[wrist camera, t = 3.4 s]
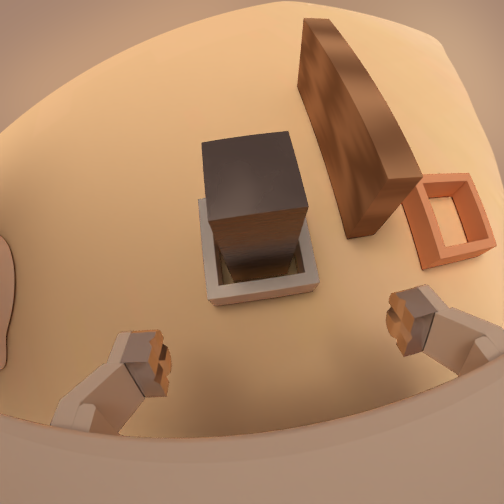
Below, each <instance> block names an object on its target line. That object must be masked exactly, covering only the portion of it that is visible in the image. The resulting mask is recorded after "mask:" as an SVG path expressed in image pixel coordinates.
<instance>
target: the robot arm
mask: <svg viewBox="0 0 504 504" xmlns="http://www.w3.org/2000/svg"><path fill="white" fill-rule="evenodd" d="M13 298H14V266H13V259H12V255H11V252H10V249H9V246H8V244H7V243H6V241H5V240H4V239H3V238H2V237H1V236H0V370H1V369H3V368H4V366H5V364H6V333H7V328H8V324H9V320H10V316H11V311H12V306H13ZM389 304H390V305H391V308H390V309H389V310H388V311H387V315H386V325H387V329H388V332H389V333H390V335H391V337H393V338H395V339H397V343H396V345H397V347H398V348H399V350H400V352H401V353H402V355H403V357H405V356H408V355H412V354H415V353H419V352H422V351H423V353H425V354H426V355H428V356H430V357H431V358H433V359H434V360H436V361H437V362H439V363H440V364H442V365H444V366H445V367H447V368H448V369H450V370H451V371H453V372H454V373H456V374H457V375H458V377H457V378H455V379H453V380H451V381H448V382H446V383H444V384H441V385H439V386H437V387H434V388H432V389H429V390H427V391H424V392H422V393H419V394H416V395H414V396H411V397H408V398H405V399H402V400H400V401H397V402H394V403H391V404H388V405H384V406H381V407H378V408H375V409H371V410H368V411H365V412H361V413H357V414H354V415H350V416H346V417H342V418H338V419H334V420H329V421H325V422H320V423H315V424H310V425H305V426H300V427H294V428H288V429H282V430H275V431H268V432H261V433H252V434H243V435H232V436H218V437H198V438H151V437H131V436H121V435H120V434H119V433H118V432H119V431H120V429H121V428H122V427H123V426H124V424H125V423H126V422H127V421H128V419H129V418H130V417H131V416H132V414H133V413H134V412H135V410H136V409H137V408H138V407H139V405H140V404H141V403H142V402H143V400H144V399H145V398H144V397H166V396H167V393H168V386H169V380H168V378H167V376H168V375H169V374H170V373H171V367H172V363H171V355H170V352H169V349H168V347H167V346H165V345H164V344H163V339H164V337H163V335H162V333H161V331H160V330H142V331H126V332H120V333H119V334H118V335H117V338H116V340H115V343H114V345H113V348H112V350H111V353H110V355H109V358H108V361H107V363H106V364H102V365H101V366H99V367H98V368H97V369H96V370H95V371H94V372H92V373H91V374H90V375H89V376H88V377H86V378H85V379H84V380H83V381H82V382H80V383H79V384H78V385H77V386H76V387H75V388H73V389H72V390H71V391H70V392H69V393H67V394H66V395H65V396H64V397H63V398H62V399H60V401H59V403H58V406H57V408H56V411H55V414H54V416H53V419H52V421H51V424H50V426H49V425H44V424H39V423H35V422H31V421H27V420H23V419H19V418H15V417H12V416H8V415H5V414H1V413H0V504H504V330H503V329H502V328H501V327H500V326H498V325H495V324H493V323H490V322H488V321H485V320H483V319H480V318H478V317H475V316H473V315H470V314H468V313H465V312H463V311H460V310H458V309H455V308H453V307H452V308H449V307H448V306H447V305H446V304H445V303H444V302H443V301H442V300H441V298H440V297H439V296H438V295H437V294H436V293H435V292H434V291H433V290H432V289H431V288H430V287H429V286H428V285H426V284H424V285H421V286H417V287H414V288H411V289H407V290H402V291H398V292H394V293H391V295H390V297H389Z"/></svg>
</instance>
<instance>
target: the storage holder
mask: <svg viewBox="0 0 504 504" xmlns="http://www.w3.org/2000/svg"><path fill="white" fill-rule="evenodd" d="M198 204H199V217H200V229H201V240H202V251H203V261H204V271H205V280H206V289H207V298H208V300H209V301H210V302H211V303H212V304H213V305H214V306H220V305H227V304H234V303H241V302H248V301H255V300H262V299H268V298H274V297H281V296H287V295H293V294H299V293H305V292H311V291H313V290H314V289H315V288H316V286H317V285H318V284H319V283H320V281H319V276H318V271H317V267H316V262H315V257H314V252H313V248H312V243H311V239H310V234H309V230H308V225H307V221H306V217H305V220H304V223H303V226H302V229H301V233H300V236H299V239H298V242H297V245H296V249H295V252H294V255H295V260H296V265H297V270H298V274H293V275H287V276H281V277H274V278H268V279H261V280H255V281H248V282H241V283H234V284H227V285H223V279H222V271H221V262H220V254H219V246H218V244H217V242H216V239H215V237H214V235H213V232H212V230H211V227H210V225H209V223H208V218H207V207H206V198H203V199H198Z"/></svg>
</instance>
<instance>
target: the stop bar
mask: <svg viewBox="0 0 504 504" xmlns="http://www.w3.org/2000/svg"><path fill="white" fill-rule="evenodd" d="M202 157H203V171H204V183H205V195H206V207H207V218H208V223H209V225H210V227H211V230H212V232H213V235H214V237H215V239H216V242H217V244H218V246H219V249H220V251H221V253H222V256H223V258H224V260H225V263H226V265H227V267H228V270H229V272H230V274H231V277H232V279H233V281H234V282H237V281H244V280H251V279H258V278H264V277H271V276H277V275H284V274H287V273H288V270H289V267H290V264H291V261H292V258H293V255H294V252H295V249H296V245H297V242H298V239H299V236H300V233H301V229H302V226H303V223H304V220H305V217H306V213H307V210H308V207H309V206H308V202H307V198H306V195H305V191H304V187H303V183H302V179H301V175H300V172H299V168H298V164H297V161H296V157H295V153H294V150H293V146H292V143H291V139H290V136H289V132H288V131H284V132H274V133H265V134H257V135H249V136H242V137H235V138H228V139H221V140H215V141H209V142H203V143H202Z"/></svg>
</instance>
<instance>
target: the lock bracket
mask: <svg viewBox="0 0 504 504" xmlns="http://www.w3.org/2000/svg"><path fill="white" fill-rule="evenodd" d="M442 196H452V197H453V200H454V202H455V205H456V208H457V210H458V213H459V216H460V219H461V221H462V224H463V227H464V230H465V233H466V236H467V239H468V243H464V244H459V245H455V246H450V247H445V245H444V242H443V239H442V235H441V232H440V229H439V226H438V223H437V220H436V217H435V215H434V212H433V209H432V206H431V204H430V201H429V198H431V197H442ZM402 204H403V207H404V210H405V213H406V216H407V219H408V222H409V225H410V228H411V231H412V234H413V238H414V241H415V244H416V248H417V251H418V255H419V258H420V262H421V266H422V270H423V269H427V268H432V267H436V266H440V265H444V264H449V263H453V262H457V261H461V260H465V259H469V258H473V257H477V256H479V255H481V254H483V253H485V252H487V251H488V250H490V249H492V248H494V247H495V246H497V245H496V242H495V238H494V235H493V232H492V229H491V226H490V223H489V221H488V218H487V215H486V212H485V210H484V207H483V205H482V202H481V200H480V197H479V195H478V192H477V190H476V187H475V185H474V183H473V181H472V178H471V176H470V174H469V173H451V174H425V175H423V178H422V179H421V180H420V181H419V182H418V184H417V185H416V186H415V187H414V189H413V190H412V191H411V192H410V193H409V195H408V196H407V197H406V198H405V199H404V201H403V202H402Z"/></svg>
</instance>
